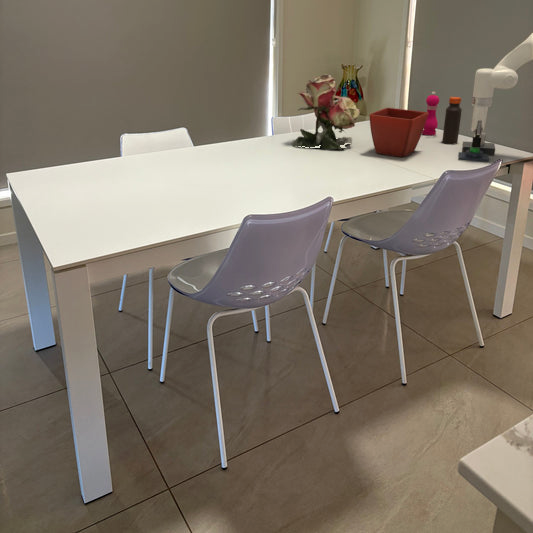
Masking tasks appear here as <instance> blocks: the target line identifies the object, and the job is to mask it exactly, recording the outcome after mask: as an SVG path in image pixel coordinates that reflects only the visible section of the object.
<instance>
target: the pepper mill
mask: <svg viewBox="0 0 533 533" xmlns="http://www.w3.org/2000/svg"><path fill="white" fill-rule="evenodd" d="M425 103H426V112H428V116H427V120H426V123H425V126H424V129H423V132H422V134H421V135H424V136H428V137H429V136H430V137H431V136H436V134H437V128H438V126H439V123H438V119H437V109H438V105H439V103H440V98H439V96H438V95H436V91H432V92H431V95H430V94H429V95H428V96H427V97H426V99H425Z"/></svg>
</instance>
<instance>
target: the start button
mask: <svg viewBox="0 0 533 533" xmlns="http://www.w3.org/2000/svg"><path fill="white" fill-rule="evenodd" d="M470 152H473V153H479V148H477V147H471V148H470Z"/></svg>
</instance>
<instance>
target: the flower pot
mask: <svg viewBox="0 0 533 533" xmlns="http://www.w3.org/2000/svg"><path fill="white" fill-rule="evenodd" d="M427 116H428V112H427V111H420V110H412V109H405V108H404V109H403V108H394V107H385V108H382V109H379V110H377V111H373V112H372V113H369V125H370V126H369V127H370V134H371V138H372V143H373V146H374V152H375V153H376V154H380V155H386V156H390V157H391V156H392V157H398V158H405V157H407V156H408V155H410V154H412V153H414V152H415V150H416V148H417V147H418V145H419V142H420V140H421V137H422V135H423V134H422V132H423V130H424V126H425V123H426V120H427Z"/></svg>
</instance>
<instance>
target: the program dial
mask: <svg viewBox="0 0 533 533" xmlns="http://www.w3.org/2000/svg"><path fill="white" fill-rule="evenodd" d="M486 137H487V133H486V132H484V131H482V133H481V144H480V146H484V144H485V143H486Z"/></svg>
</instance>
